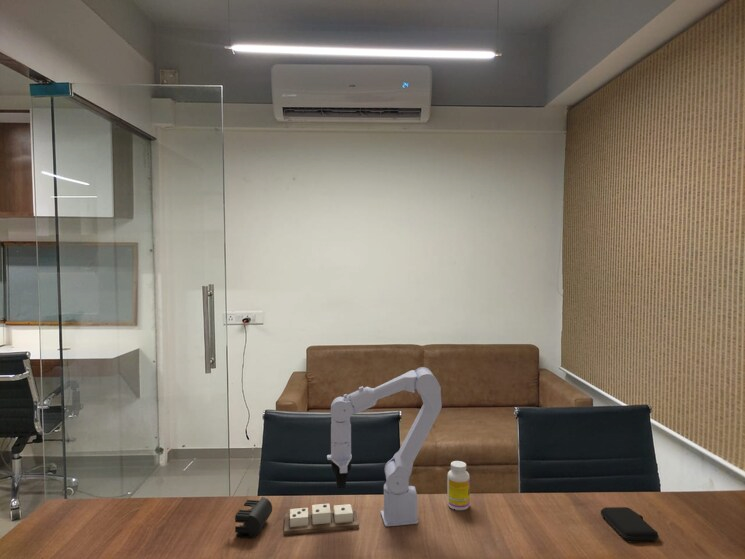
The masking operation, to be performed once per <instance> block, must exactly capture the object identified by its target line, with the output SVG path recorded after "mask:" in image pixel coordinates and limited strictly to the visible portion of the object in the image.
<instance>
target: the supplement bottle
mask: <svg viewBox="0 0 745 559" xmlns="http://www.w3.org/2000/svg"><path fill="white" fill-rule="evenodd" d="M446 477H447V484H446V486H447V488H446V490H447V494H446V495H447V497H446V498H447V500H446V502H447V505H448V508H451V509H452V510H454V509H455V511H465V510H467V509H468V508H469V507H470V501H471V499H470V498H471V497H470V494H471V493H470V490H471V487H470V479H471V478H470V473H469V472H468V471H467V463H466V462H464V461H462V460H461V461H460V460H453V461H451V462H450V470H449V471H448V472H447V476H446Z"/></svg>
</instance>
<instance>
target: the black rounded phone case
mask: <svg viewBox="0 0 745 559" xmlns="http://www.w3.org/2000/svg"><path fill="white" fill-rule="evenodd" d="M600 516H602V518H603V519H604V518H605V519H604V520H605V521H606V522H607V523H608V524H609V526H611V527H612V528H613V529H614V530H615V531H616V532H617V534H619V535H621V536H622V539H623V538H624V539H623V540H625V541H626V542H628V543H654V542H656V541H657V540H659V534H658V531H656V530H655V529H654V528H653V527H652V526H651V525H649V523H648V522H646V520H644V517H643V516H642V515H641V514H639V513H637V512H636V511H634V510H633V509H632V508H630V507H626V506H621V507H619V506H614V507H612V506H611V507H609V506H608V507H604V508H602V509H601V510H600Z"/></svg>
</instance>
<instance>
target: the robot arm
mask: <svg viewBox="0 0 745 559" xmlns="http://www.w3.org/2000/svg"><path fill="white" fill-rule="evenodd" d="M415 390H416V391H417V393H418V395H419V396H420V398H421V400H422V403H423V404H422V406H421V408H420V409H419V412H418V413H417V415H416V417H415V418H414V421H413V423H412V425H411V427H410V429H409V430H408V432H407V434H406V436H405V438H404V440H403V442H402V444H401V446H400V448H399V449H398V451H396V453H394V455H393V457H392V458H391V459H390V460H388V461H387V462H386V464H385V465H384V470H383V471H384V474H385V480H386V482H385V483H384V484H383V509H382V510H380V514H381V518H382V521H383V524H384V526H385V527H395V526H397V527H398V526H406V525H408V526H409V525H417V524H419V521H418V493H417V490H416V486H414V485H410V477H411V475H412V471H413V466H414V461H416V458H417V456H418V454H419V452H420V450H421V449H422V447H423V445H424V443H425V441H426V439H427V437H428V436H429V433H430V431H431V429H432V428H433V425H434V423H435V422H436V420H437V418H438V416H439V414H440V412H441V410H442V406H443V404H442V403H443V402H442V395H441V391H442V387H441V385H440V382H439V381H438V379H437V378H436V377H435V376H434V374H433V372H432V371H431V370H430V369H429V368H428V367H423V366H420V367H418V368H416V369H415V370H414V369H412V370H408V371H407V372H404V373H403V374H400V375H399V376H396V377H394V378H393V379H391V380H388V381H387V382H384V383H383V384H380V385H378V386H376V387H373V388H372V387H371V386H370V387H369V386H365V387H364V386H363V385H362V386H359V387H358V390H355V391H353V392H351V393H349V394H347V393H345V394H343V396H338V397H335V398H334V399H333V401H331V404H330V416H331V419H330V420H331V424H330V454H327V455H326V459H327V460H328V461H330V464H331V465H330V466H331V469H332V471H333V472H334V476H335V482H336V487H337V489H345V488H346V484H347V480H348V476H349V473H350V471H351V469H352V463H351V462H352V457H353V456H352V424H351V423H352V422H351V417H352V415H356V414H359V413H360V412H363V411H365V410H367V409H368V410H369V409H370V408H372V407H374V406H376V404H377V402H378V400H380V399H383V398H386V397H388V396H390V395H394V394H396V393H399V392H402V391H406V392H409V393H413V394H415Z"/></svg>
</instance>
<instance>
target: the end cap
mask: <svg viewBox="0 0 745 559" xmlns="http://www.w3.org/2000/svg"><path fill="white" fill-rule="evenodd" d="M243 507H250V508H248V509H239V510H238V511H237V512H236V514H235V516H234V517H235V518H234V522H235V523H238V524H239V523H241V524H242V523H243V525H237V526H236V525H235V527H234V532H235V533H236V534H235V537H236V538H237V539H245V540H246V539H248V540H250V539H253V538H255V537H256V536H257V535H258V534H259V533H260V531H261V530H262V528H263V527H264V525H265V524H266V522H267V521H268V519H269V517H270V516H271V515H272V513H273V505H272V503H271V501H270V500H269V499H268V498H266V497H263V496H262V497H261V498H260V499H259V500H256V499H246V502H244V504H243Z"/></svg>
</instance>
